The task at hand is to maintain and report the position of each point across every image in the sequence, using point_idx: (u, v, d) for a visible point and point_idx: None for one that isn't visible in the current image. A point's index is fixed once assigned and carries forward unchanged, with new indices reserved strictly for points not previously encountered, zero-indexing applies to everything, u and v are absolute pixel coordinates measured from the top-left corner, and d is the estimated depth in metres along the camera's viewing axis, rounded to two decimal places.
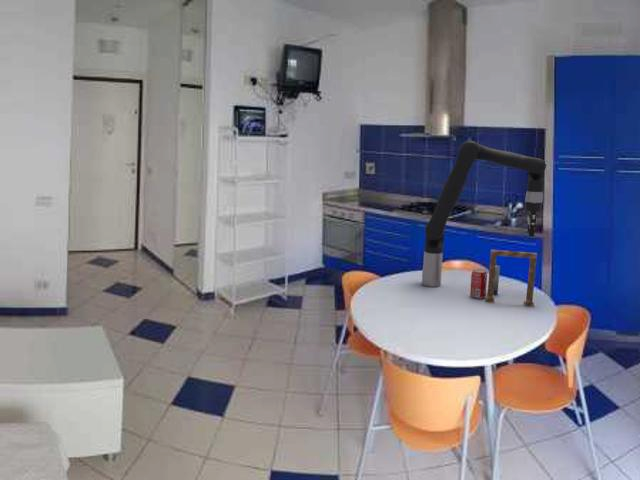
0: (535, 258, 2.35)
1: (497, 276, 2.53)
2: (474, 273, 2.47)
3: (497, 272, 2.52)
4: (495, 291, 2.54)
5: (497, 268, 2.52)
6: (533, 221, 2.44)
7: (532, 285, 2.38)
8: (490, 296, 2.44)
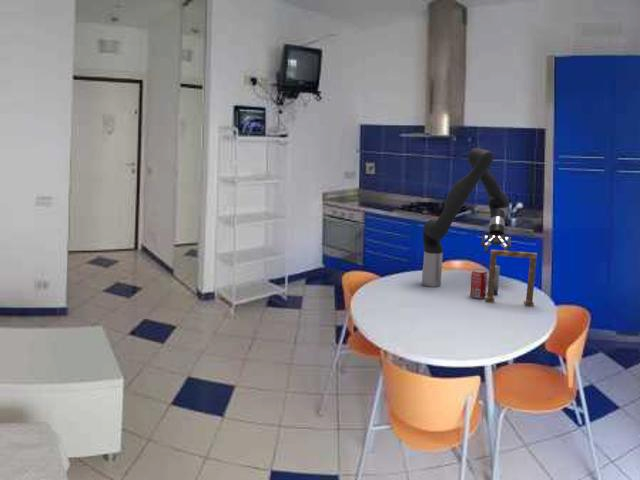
0: (535, 258, 2.35)
1: (497, 276, 2.53)
2: (474, 273, 2.47)
3: (497, 272, 2.52)
4: (495, 291, 2.54)
5: (497, 268, 2.52)
6: (510, 242, 2.66)
7: (532, 285, 2.38)
8: (490, 296, 2.44)
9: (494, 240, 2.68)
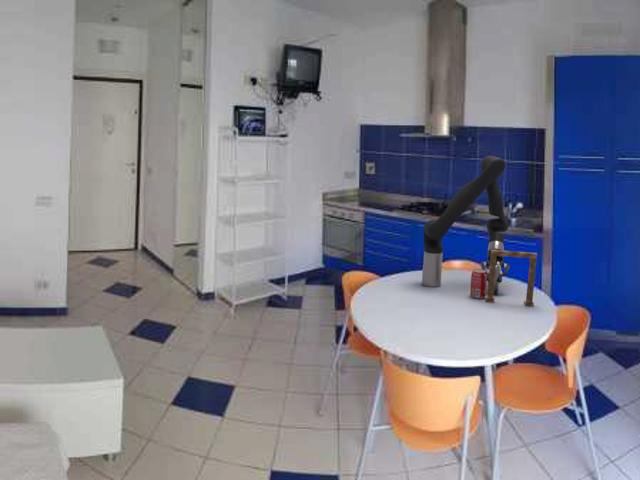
0: (535, 258, 2.35)
1: (497, 276, 2.53)
2: (474, 273, 2.47)
3: (497, 272, 2.52)
4: (495, 291, 2.54)
5: (497, 268, 2.52)
6: (507, 270, 2.55)
7: (532, 285, 2.38)
8: (490, 296, 2.44)
9: None
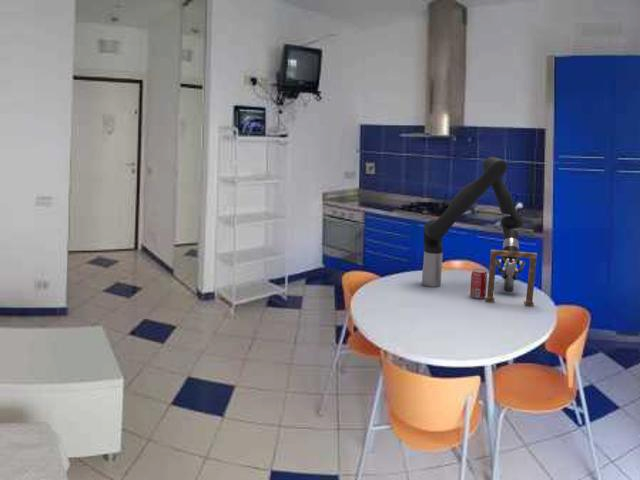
0: (535, 258, 2.35)
1: (513, 273, 2.52)
2: (474, 273, 2.47)
3: (512, 269, 2.52)
4: (511, 288, 2.54)
5: (513, 265, 2.51)
6: None
7: (532, 285, 2.38)
8: (490, 296, 2.44)
9: None
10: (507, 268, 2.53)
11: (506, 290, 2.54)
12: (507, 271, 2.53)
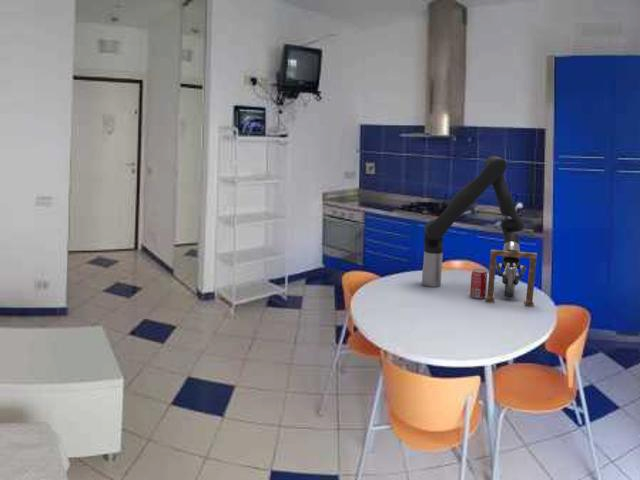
0: (535, 258, 2.35)
1: (513, 278, 2.45)
2: (474, 273, 2.47)
3: (513, 274, 2.44)
4: (511, 293, 2.46)
5: (513, 270, 2.44)
6: None
7: (532, 285, 2.38)
8: (490, 296, 2.44)
9: None
10: (508, 273, 2.45)
11: (506, 295, 2.47)
12: (508, 276, 2.45)
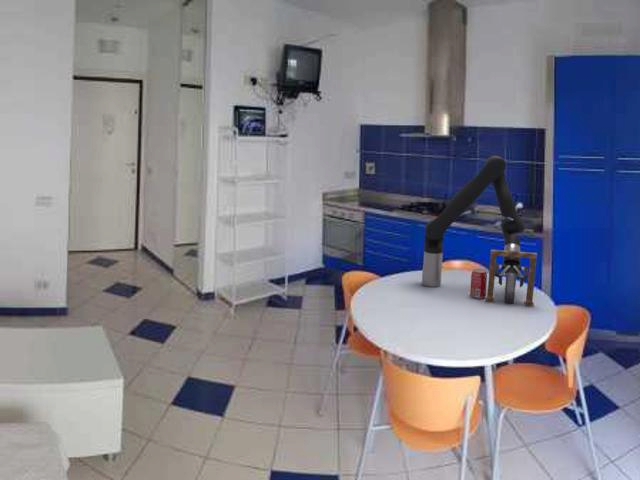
0: (535, 258, 2.35)
1: (513, 284, 2.40)
2: (474, 273, 2.47)
3: (513, 279, 2.39)
4: (511, 300, 2.41)
5: (514, 276, 2.39)
6: None
7: (532, 285, 2.38)
8: (490, 296, 2.44)
9: (509, 270, 2.43)
10: (508, 279, 2.40)
11: (506, 302, 2.42)
12: (508, 282, 2.40)
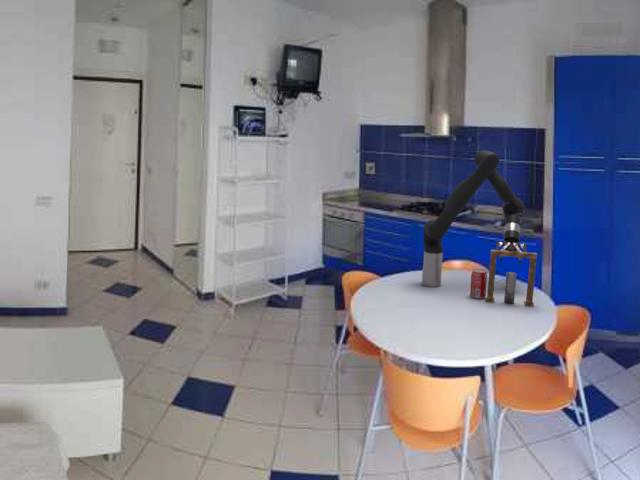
0: (535, 258, 2.35)
1: (514, 284, 2.40)
2: (474, 273, 2.47)
3: (513, 279, 2.39)
4: (511, 300, 2.41)
5: (514, 276, 2.39)
6: None
7: (532, 285, 2.38)
8: (490, 296, 2.44)
9: (509, 247, 2.58)
10: (508, 279, 2.40)
11: (506, 302, 2.42)
12: (508, 282, 2.40)
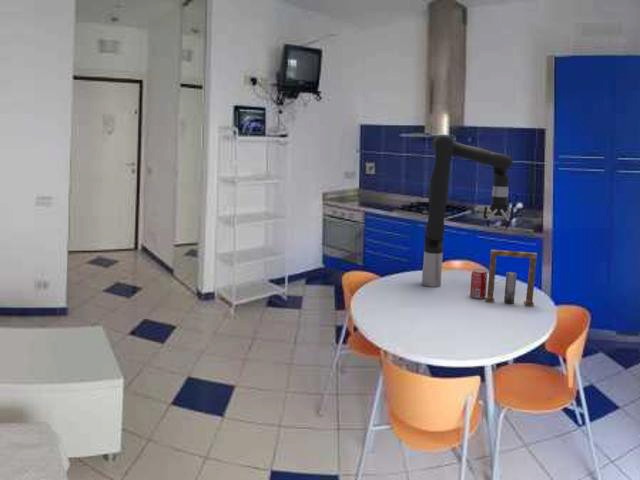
0: (535, 258, 2.35)
1: (514, 284, 2.40)
2: (474, 273, 2.47)
3: (513, 279, 2.39)
4: (511, 300, 2.41)
5: (514, 276, 2.39)
6: None
7: (532, 285, 2.38)
8: (490, 296, 2.44)
9: (496, 213, 2.63)
10: (508, 279, 2.40)
11: (506, 302, 2.42)
12: (508, 282, 2.40)
